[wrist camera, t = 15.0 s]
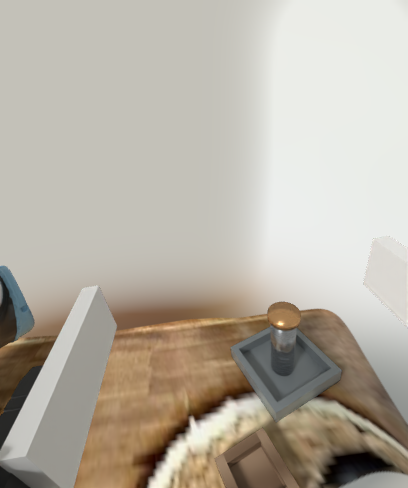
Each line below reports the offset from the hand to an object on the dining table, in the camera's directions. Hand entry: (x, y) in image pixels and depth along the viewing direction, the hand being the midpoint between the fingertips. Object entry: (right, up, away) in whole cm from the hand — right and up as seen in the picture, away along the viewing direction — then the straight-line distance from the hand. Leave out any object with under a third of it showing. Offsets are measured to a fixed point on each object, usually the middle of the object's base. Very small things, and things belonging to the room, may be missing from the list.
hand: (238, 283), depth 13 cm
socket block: (+5, -26, +18) cm, 32 cm away
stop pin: (+11, -18, +29) cm, 36 cm away
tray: (+11, -18, +29) cm, 36 cm away
